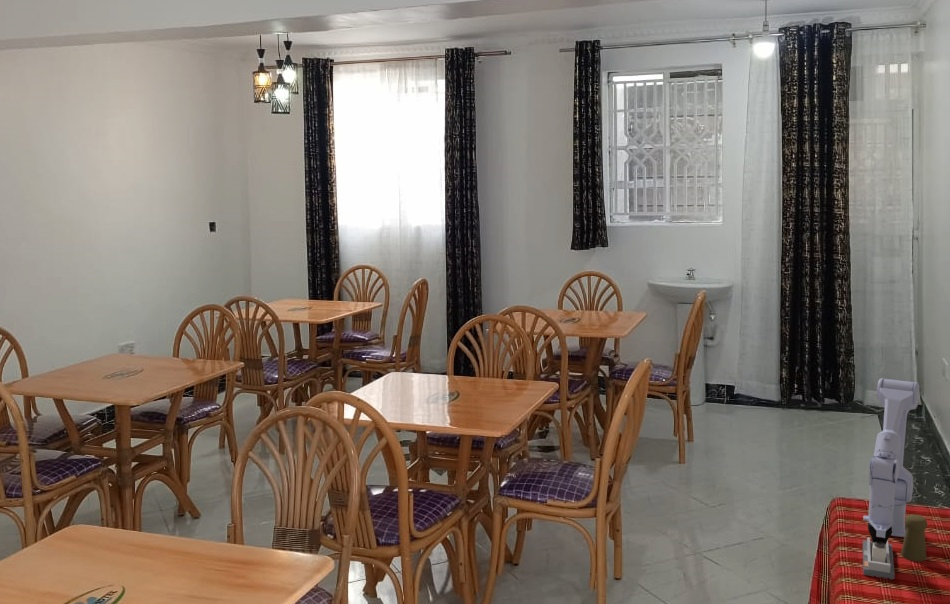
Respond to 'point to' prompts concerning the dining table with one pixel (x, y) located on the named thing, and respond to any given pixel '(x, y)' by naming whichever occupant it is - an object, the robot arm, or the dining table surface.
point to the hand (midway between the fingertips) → (878, 552)
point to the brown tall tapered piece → (914, 538)
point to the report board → (877, 567)
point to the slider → (879, 551)
